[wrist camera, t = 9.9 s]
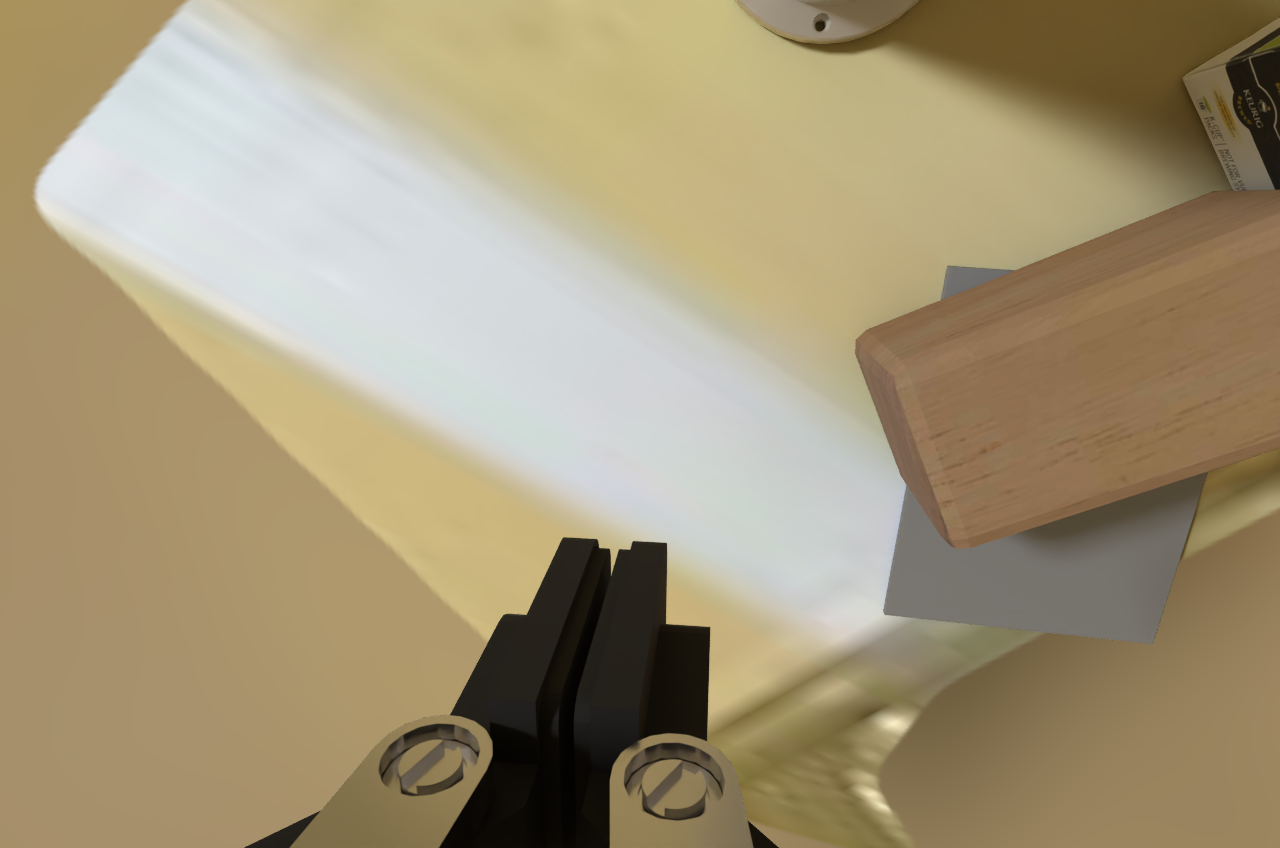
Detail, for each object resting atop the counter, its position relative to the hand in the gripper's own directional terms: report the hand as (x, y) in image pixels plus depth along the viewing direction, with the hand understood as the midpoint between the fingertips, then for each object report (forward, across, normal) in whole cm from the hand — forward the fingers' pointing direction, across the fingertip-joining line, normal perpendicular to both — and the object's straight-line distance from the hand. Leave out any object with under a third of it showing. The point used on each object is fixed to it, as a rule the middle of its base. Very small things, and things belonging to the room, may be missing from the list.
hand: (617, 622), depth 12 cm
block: (+27, -11, +6) cm, 30 cm away
